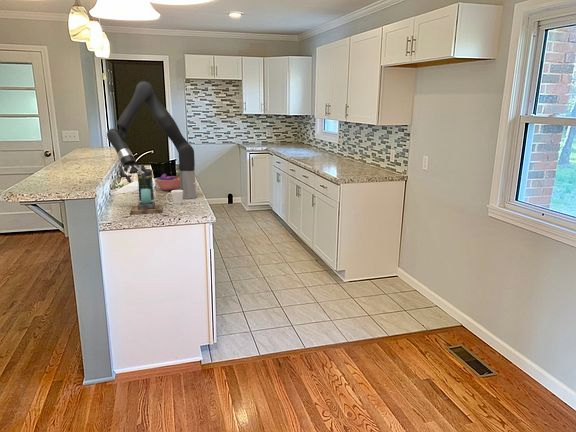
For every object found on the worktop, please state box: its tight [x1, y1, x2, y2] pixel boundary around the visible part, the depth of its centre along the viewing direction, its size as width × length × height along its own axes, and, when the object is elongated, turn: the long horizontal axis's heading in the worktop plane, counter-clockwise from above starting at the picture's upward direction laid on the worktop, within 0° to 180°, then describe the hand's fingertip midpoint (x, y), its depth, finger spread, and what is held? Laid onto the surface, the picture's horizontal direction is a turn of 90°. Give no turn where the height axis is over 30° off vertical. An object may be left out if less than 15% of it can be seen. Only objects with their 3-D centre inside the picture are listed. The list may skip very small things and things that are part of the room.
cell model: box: [154, 173, 180, 192], centre depth 294 cm, size 17×20×11 cm
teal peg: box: [140, 189, 152, 205], centre depth 238 cm, size 5×5×10 cm
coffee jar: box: [137, 168, 155, 201], centre depth 266 cm, size 10×8×19 cm
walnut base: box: [130, 200, 163, 216], centre depth 239 cm, size 16×12×4 cm
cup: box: [165, 189, 183, 206], centre depth 254 cm, size 7×10×8 cm
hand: (138, 181), depth 241 cm, fingers open, 8 cm apart
